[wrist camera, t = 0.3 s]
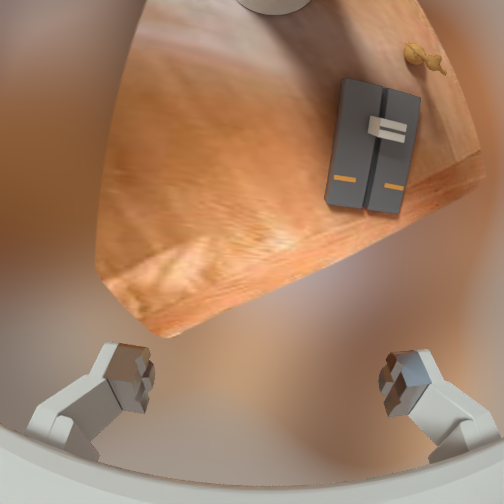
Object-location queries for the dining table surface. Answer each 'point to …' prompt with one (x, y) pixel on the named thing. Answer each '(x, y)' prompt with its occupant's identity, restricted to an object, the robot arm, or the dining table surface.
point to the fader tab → (387, 129)
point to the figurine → (422, 57)
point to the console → (370, 148)
